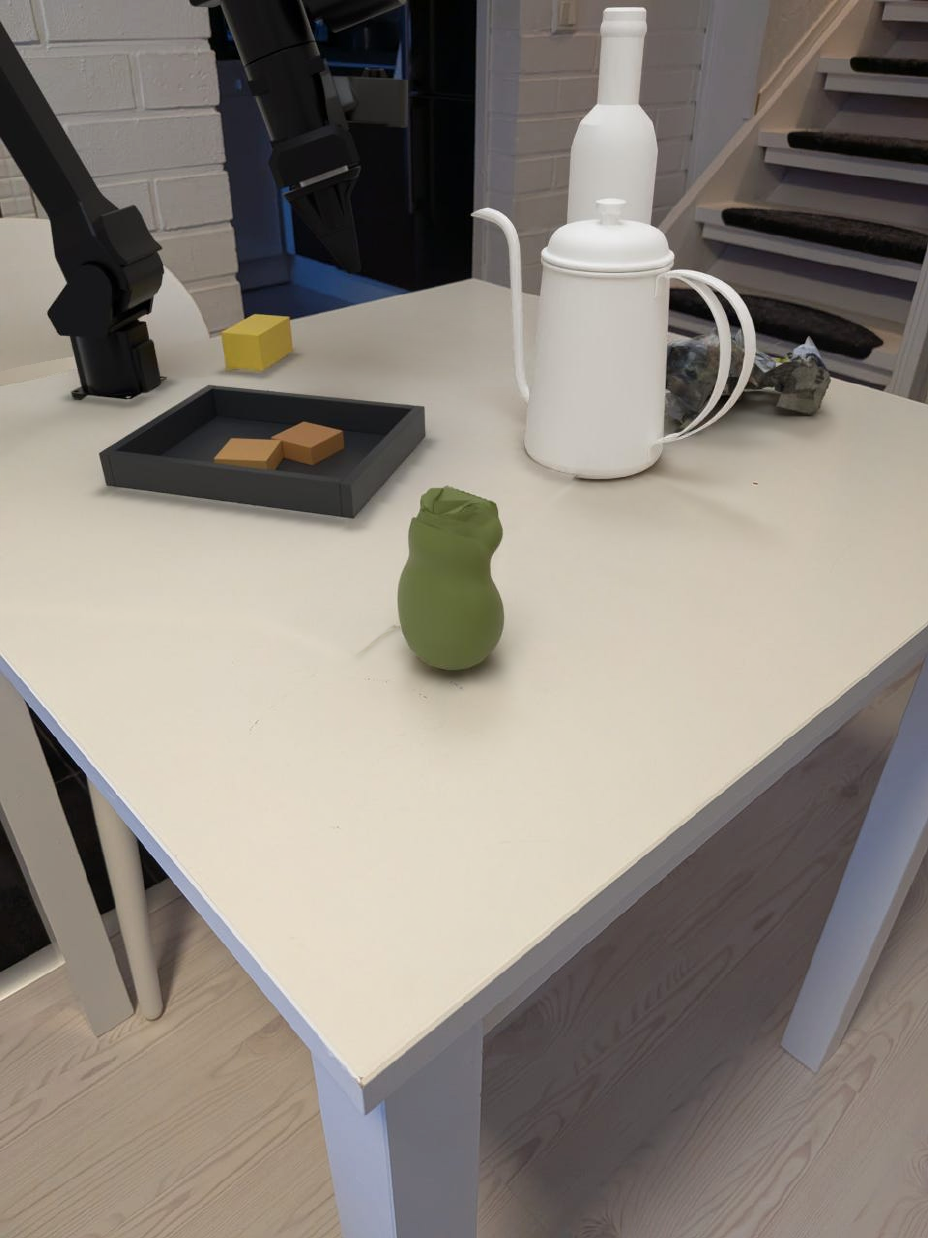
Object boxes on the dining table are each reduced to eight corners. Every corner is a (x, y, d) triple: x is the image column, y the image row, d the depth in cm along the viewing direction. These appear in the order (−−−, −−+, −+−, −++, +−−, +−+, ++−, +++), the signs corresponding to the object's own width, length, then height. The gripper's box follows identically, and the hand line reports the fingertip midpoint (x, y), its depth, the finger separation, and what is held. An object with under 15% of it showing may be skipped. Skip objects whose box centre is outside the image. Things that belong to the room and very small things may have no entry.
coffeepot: (511, 400, 84) (517, 173, 73) (763, 476, 69) (813, 207, 59) (428, 433, 77) (421, 189, 67) (687, 524, 63) (729, 231, 52)
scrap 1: (216, 477, 68) (213, 458, 67) (233, 456, 72) (231, 437, 71) (268, 479, 68) (266, 460, 67) (283, 458, 71) (281, 439, 70)
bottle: (560, 351, 96) (579, 8, 80) (636, 354, 95) (670, 7, 79) (556, 375, 89) (575, 6, 73) (637, 378, 88) (675, 6, 72)
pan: (107, 492, 67) (98, 452, 66) (213, 418, 80) (208, 384, 78) (353, 525, 63) (350, 484, 61) (425, 442, 75) (424, 406, 74)
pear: (381, 662, 49) (370, 493, 44) (445, 620, 53) (442, 459, 47) (461, 703, 46) (460, 527, 41) (523, 656, 50) (530, 488, 44)
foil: (864, 401, 73) (720, 293, 70) (768, 498, 79) (631, 402, 76) (835, 351, 83) (707, 254, 79) (751, 441, 89) (628, 354, 85)
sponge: (226, 372, 91) (220, 332, 88) (259, 352, 96) (254, 313, 94) (262, 376, 90) (257, 335, 87) (293, 355, 95) (289, 316, 93)
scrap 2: (272, 455, 72) (270, 437, 71) (305, 438, 74) (303, 421, 74) (312, 465, 70) (310, 447, 69) (344, 448, 73) (343, 430, 72)
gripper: (386, 0, 60) (458, 243, 67) (377, 31, 76) (435, 223, 84) (228, 59, 60) (316, 294, 68) (252, 77, 77) (321, 264, 84)
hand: (354, 265), depth 76 cm, fingers open, 9 cm apart
